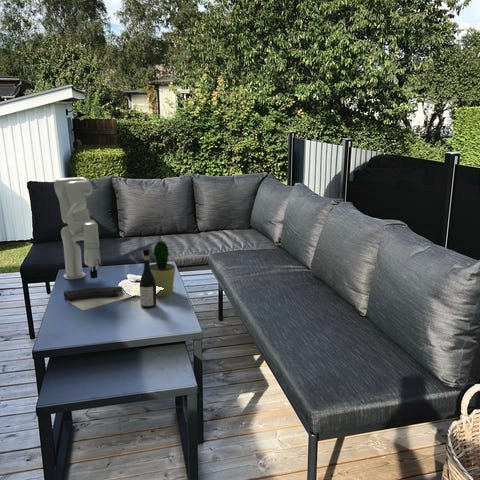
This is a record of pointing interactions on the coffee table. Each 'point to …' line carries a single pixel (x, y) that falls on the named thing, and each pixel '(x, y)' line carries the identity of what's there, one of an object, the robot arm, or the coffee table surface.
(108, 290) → the magazine
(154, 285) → the wine bottle
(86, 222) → the robot arm
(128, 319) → the coffee table surface
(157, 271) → the potted cactus
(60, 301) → the coffee table surface
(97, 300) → the mat
